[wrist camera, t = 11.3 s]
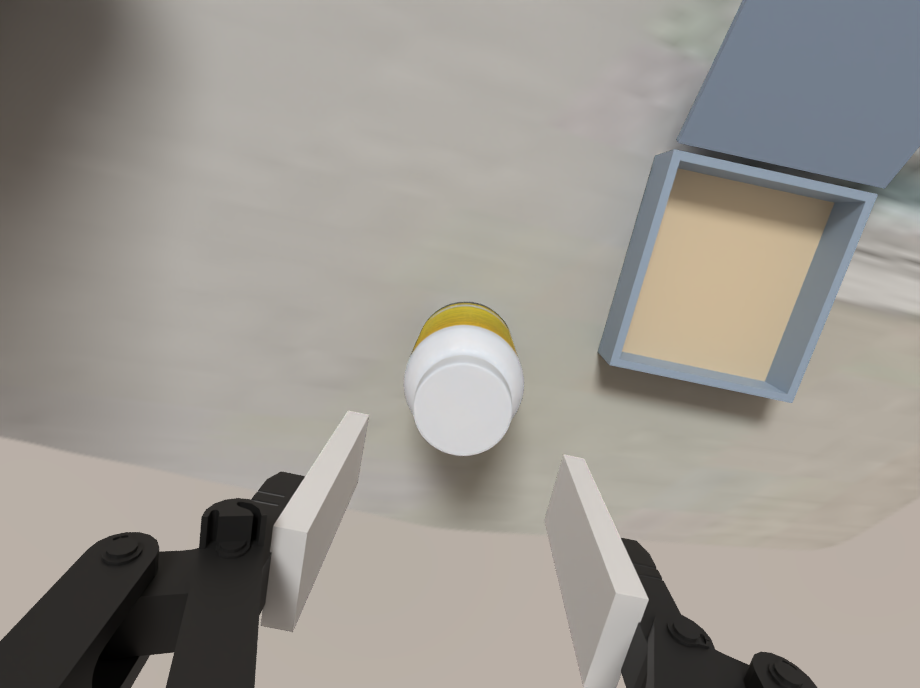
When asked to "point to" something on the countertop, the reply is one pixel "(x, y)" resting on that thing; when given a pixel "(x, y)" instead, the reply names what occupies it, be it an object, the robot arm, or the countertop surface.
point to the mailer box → (731, 274)
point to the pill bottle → (464, 379)
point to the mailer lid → (815, 88)
